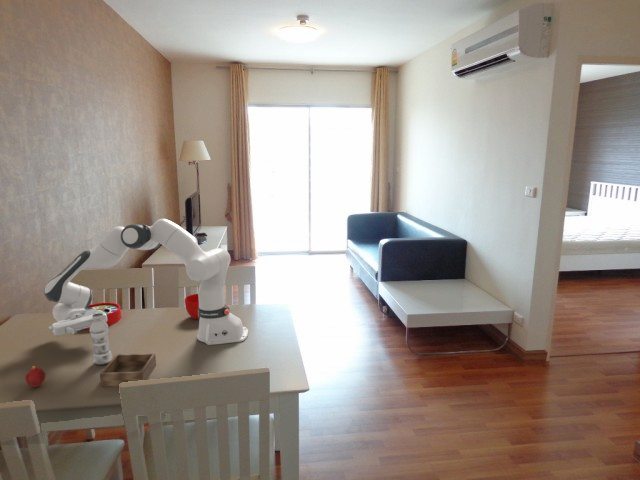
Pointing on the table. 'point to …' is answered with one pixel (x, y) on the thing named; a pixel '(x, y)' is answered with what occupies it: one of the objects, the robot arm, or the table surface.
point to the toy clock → (109, 311)
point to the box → (128, 368)
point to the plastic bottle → (100, 340)
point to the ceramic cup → (192, 305)
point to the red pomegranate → (35, 376)
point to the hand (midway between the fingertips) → (87, 328)
